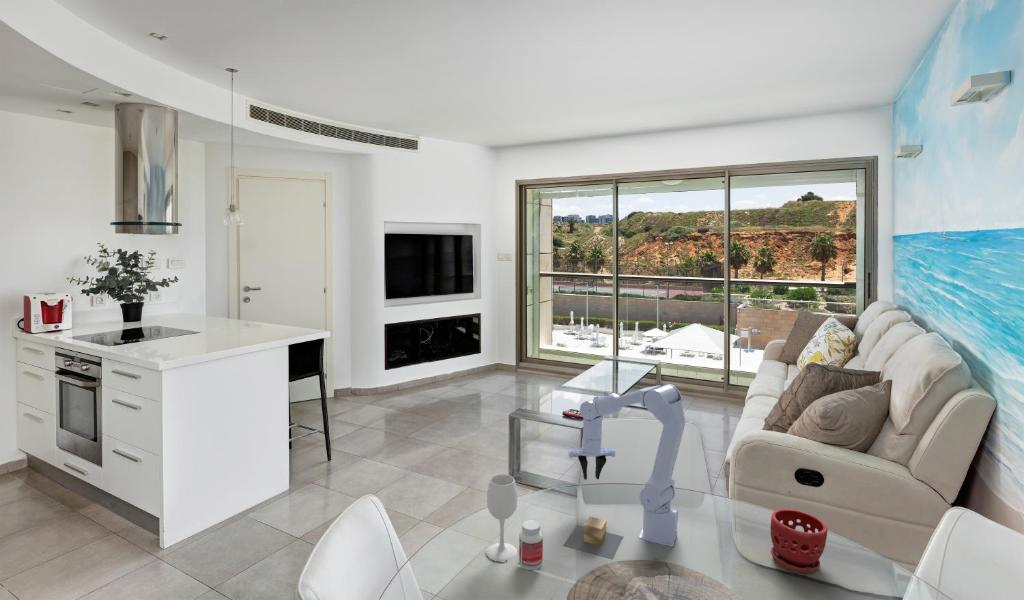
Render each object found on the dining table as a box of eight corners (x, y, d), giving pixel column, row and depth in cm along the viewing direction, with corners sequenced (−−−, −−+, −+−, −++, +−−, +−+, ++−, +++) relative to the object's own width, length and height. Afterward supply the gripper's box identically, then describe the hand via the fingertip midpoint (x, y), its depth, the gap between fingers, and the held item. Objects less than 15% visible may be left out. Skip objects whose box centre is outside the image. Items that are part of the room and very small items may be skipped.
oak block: (606, 536, 154) (606, 520, 153) (601, 546, 150) (601, 529, 149) (589, 532, 156) (589, 516, 156) (583, 541, 152) (584, 524, 151)
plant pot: (822, 584, 135) (826, 539, 133) (765, 566, 142) (768, 523, 140) (825, 557, 146) (828, 516, 144) (771, 542, 153) (774, 502, 151)
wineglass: (522, 548, 149) (523, 476, 146) (509, 566, 141) (510, 490, 138) (494, 540, 152) (495, 470, 150) (480, 557, 145) (480, 483, 142)
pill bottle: (547, 566, 141) (547, 526, 140) (527, 574, 138) (528, 533, 136) (533, 554, 146) (533, 516, 145) (514, 561, 143) (514, 522, 141)
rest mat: (623, 537, 154) (623, 536, 154) (612, 560, 144) (612, 559, 144) (577, 525, 160) (577, 524, 160) (563, 547, 150) (563, 545, 150)
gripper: (611, 431, 174) (610, 471, 175) (567, 432, 172) (566, 473, 174) (617, 440, 167) (616, 481, 168) (571, 441, 166) (570, 483, 167)
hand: (591, 478), depth 171 cm, fingers open, 3 cm apart
